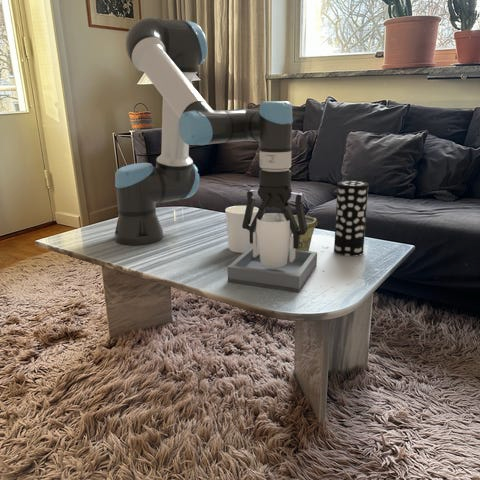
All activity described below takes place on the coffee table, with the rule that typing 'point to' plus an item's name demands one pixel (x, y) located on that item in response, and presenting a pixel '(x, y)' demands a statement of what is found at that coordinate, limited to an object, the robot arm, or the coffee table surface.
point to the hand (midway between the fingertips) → (273, 257)
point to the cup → (273, 239)
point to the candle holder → (238, 228)
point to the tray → (273, 271)
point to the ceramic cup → (306, 238)
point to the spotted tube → (350, 217)
